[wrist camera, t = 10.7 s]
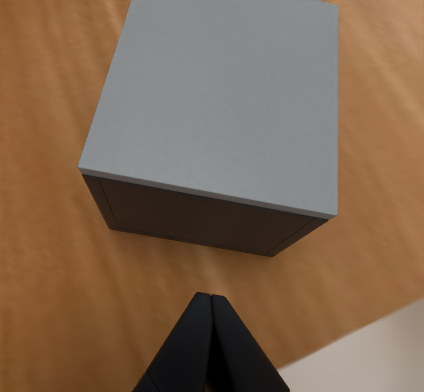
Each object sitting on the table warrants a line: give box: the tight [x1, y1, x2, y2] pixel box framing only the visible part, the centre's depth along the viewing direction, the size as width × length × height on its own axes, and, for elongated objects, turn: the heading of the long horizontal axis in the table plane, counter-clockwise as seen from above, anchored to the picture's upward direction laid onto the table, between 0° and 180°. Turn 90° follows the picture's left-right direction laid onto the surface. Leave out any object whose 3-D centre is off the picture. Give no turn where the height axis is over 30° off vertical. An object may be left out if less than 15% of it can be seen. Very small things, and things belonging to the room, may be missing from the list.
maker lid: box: [78, 0, 338, 220], centre depth 17 cm, size 14×13×1 cm
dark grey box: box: [82, 174, 329, 257], centre depth 22 cm, size 14×13×9 cm
